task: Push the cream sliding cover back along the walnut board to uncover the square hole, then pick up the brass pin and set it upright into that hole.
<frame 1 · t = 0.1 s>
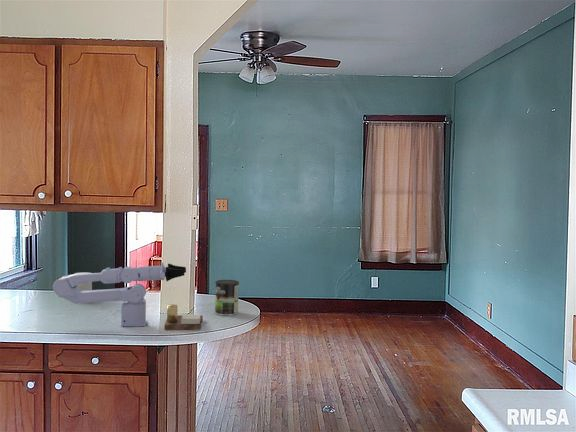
hand: (185, 271, 247), 22 cm above the worktop, tool horizontal, fingers open, 7 cm apart
brass pin: (172, 321, 244), point 2 cm above the worktop, touching walnut board
walnut board: (184, 324, 248), on the worktop
coffee can: (226, 313, 270), on the worktop
cup: (83, 298, 295), on the worktop
cover: (191, 319, 244), point 3 cm above the worktop, slide at 0.0 cm
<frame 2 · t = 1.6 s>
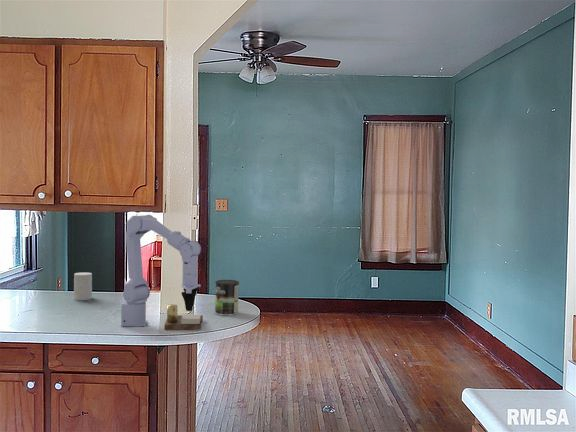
hand: (189, 308, 234), 9 cm above the worktop, tool pointing down, fingers open, 7 cm apart
nothing on the worktop moved.
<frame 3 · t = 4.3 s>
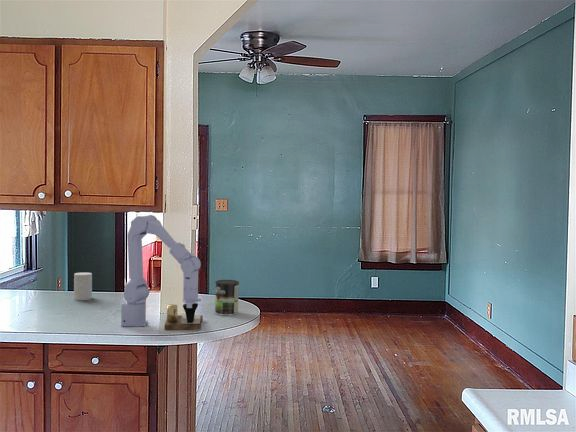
hand: (190, 322, 240), 3 cm above the worktop, tool pointing down, fingers closed
cover: (191, 319, 244), point 3 cm above the worktop, slide at 0.3 cm, touching gripper
everything else where it was.
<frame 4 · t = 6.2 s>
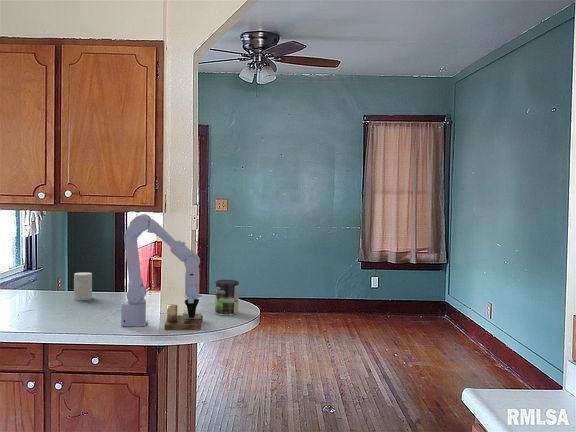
hand: (191, 317, 248), 3 cm above the worktop, tool pointing down, fingers closed
cover: (192, 314, 253), point 3 cm above the worktop, slide at 9.0 cm, touching gripper
everything else where it was.
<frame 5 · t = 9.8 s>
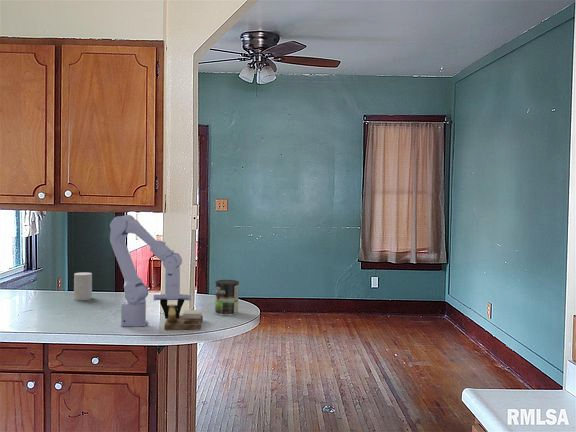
hand: (172, 318, 244), 3 cm above the worktop, tool pointing down, fingers closed on brass pin, 4 cm apart
brass pin: (172, 321, 244), point 2 cm above the worktop, touching gripper, walnut board
cover: (192, 314, 253), point 3 cm above the worktop, slide at 9.0 cm
everything else where it was.
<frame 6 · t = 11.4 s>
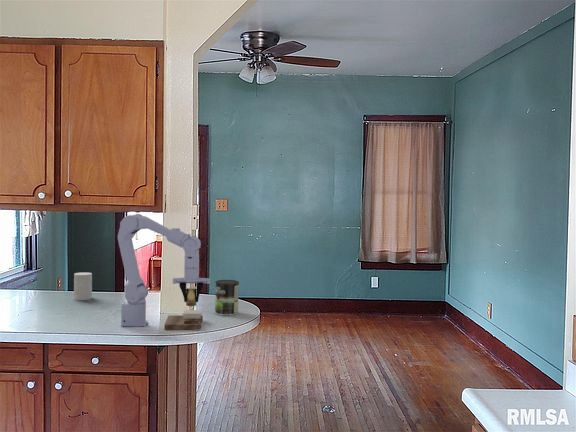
hand: (191, 301, 243), 10 cm above the worktop, tool pointing down, fingers closed on brass pin, 4 cm apart
brass pin: (191, 305, 243), point 9 cm above the worktop, touching gripper
everything else where it was.
when the fingers open (3 cm above the worktop, at t = 13.5 s): brass pin drops 2 cm, resting in walnut board.
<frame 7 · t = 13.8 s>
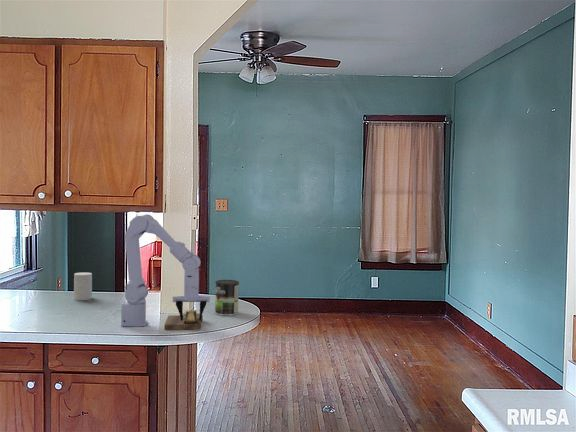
hand: (191, 320, 244), 3 cm above the worktop, tool pointing down, fingers open, 7 cm apart
brass pin: (191, 327, 244), resting in walnut board
everything else where it was.
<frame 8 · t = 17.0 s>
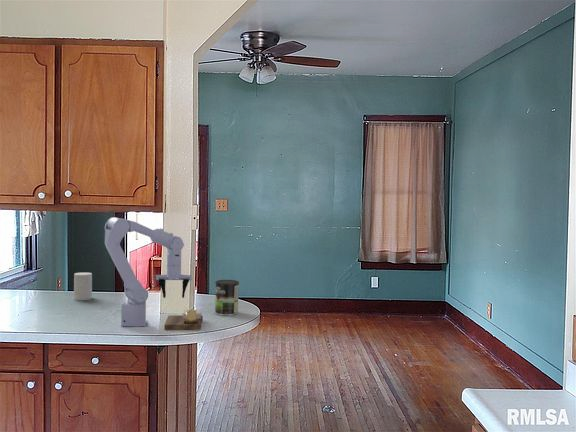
hand: (173, 297, 256), 9 cm above the worktop, tool pointing down, fingers open, 7 cm apart
nothing on the worktop moved.
at the end: cover slide at 9.0 cm; brass pin 0.0 cm from the target spot, resting in walnut board; brass pin tilted 0° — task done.
